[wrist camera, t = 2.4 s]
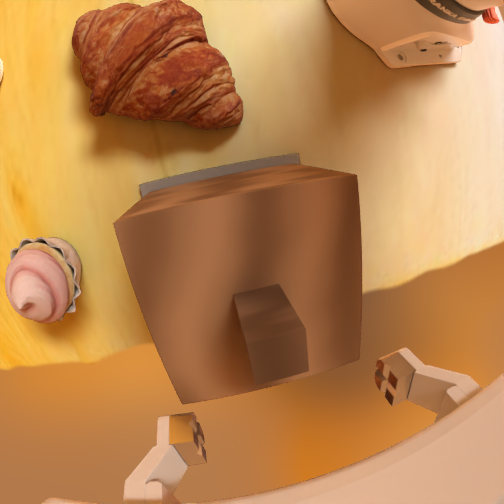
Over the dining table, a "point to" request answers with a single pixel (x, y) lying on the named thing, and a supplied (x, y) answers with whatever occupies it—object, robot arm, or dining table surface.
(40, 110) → the dining table surface
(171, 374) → the wooden block with knob
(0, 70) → the can
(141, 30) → the pastry
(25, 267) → the cupcake
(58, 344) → the dining table surface
